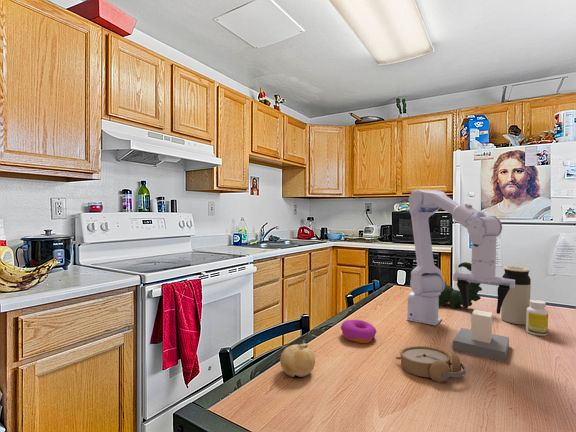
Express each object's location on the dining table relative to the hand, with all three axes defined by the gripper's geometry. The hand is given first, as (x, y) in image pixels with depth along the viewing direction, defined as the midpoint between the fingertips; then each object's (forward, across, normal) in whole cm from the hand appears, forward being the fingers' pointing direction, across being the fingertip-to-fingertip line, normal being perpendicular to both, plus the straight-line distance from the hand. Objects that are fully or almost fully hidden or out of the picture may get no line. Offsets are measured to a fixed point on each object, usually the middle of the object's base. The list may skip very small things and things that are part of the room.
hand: (482, 310), depth 94 cm
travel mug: (+11, +6, +32) cm, 34 cm away
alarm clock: (+11, -7, -22) cm, 26 cm away
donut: (+11, -30, -14) cm, 35 cm away
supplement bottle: (+11, +12, +23) cm, 28 cm away
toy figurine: (+11, -17, +38) cm, 43 cm away
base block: (+10, 0, 0) cm, 10 cm away
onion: (+11, -32, -42) cm, 54 cm away
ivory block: (+8, 0, 0) cm, 8 cm away
